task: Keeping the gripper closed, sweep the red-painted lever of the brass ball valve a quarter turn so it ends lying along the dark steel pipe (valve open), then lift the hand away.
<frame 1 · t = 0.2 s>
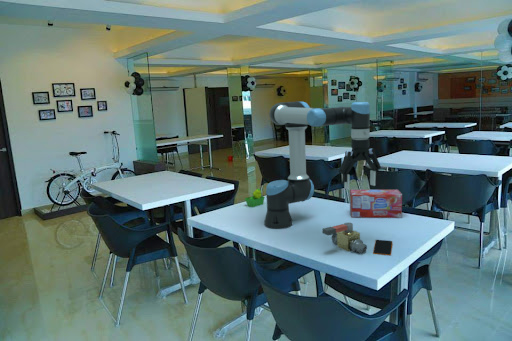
hand: (359, 187, 173), 27 cm above the table, fingers open, 13 cm apart
smartphone: (383, 248, 176), on the table
box: (374, 215, 223), on the table
fruit basket: (255, 205, 253), on the table
lever: (338, 230, 173), point 9 cm above the table, hinge at 0.0°
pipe: (348, 247, 178), on the table
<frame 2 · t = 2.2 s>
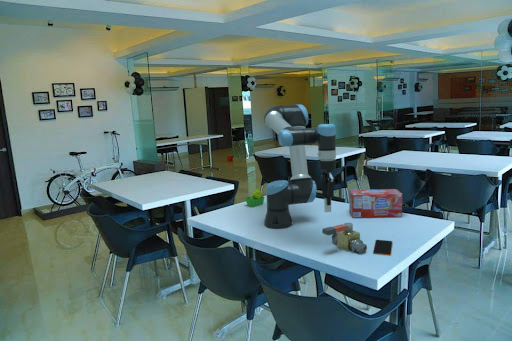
hand: (327, 211, 177), 16 cm above the table, fingers closed
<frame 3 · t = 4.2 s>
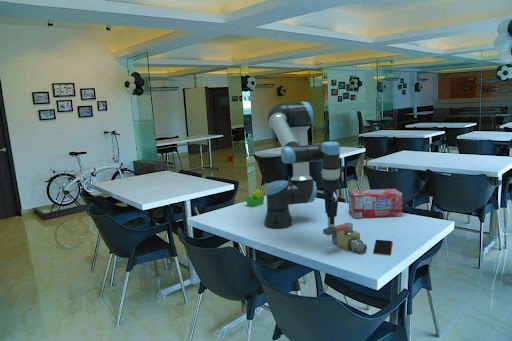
hand: (331, 230, 174), 9 cm above the table, fingers closed
lever: (338, 230, 173), point 9 cm above the table, hinge at 2.5°, touching gripper
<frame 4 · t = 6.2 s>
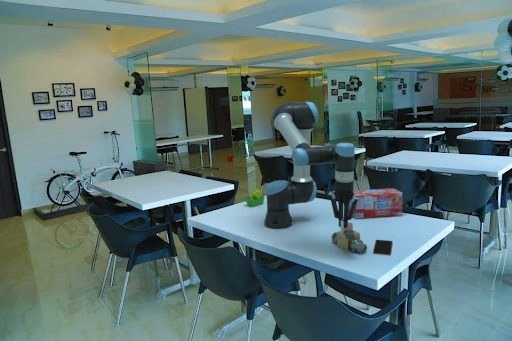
hand: (343, 234, 169), 9 cm above the table, fingers closed
lever: (349, 232, 170), point 9 cm above the table, hinge at 50.2°, touching gripper
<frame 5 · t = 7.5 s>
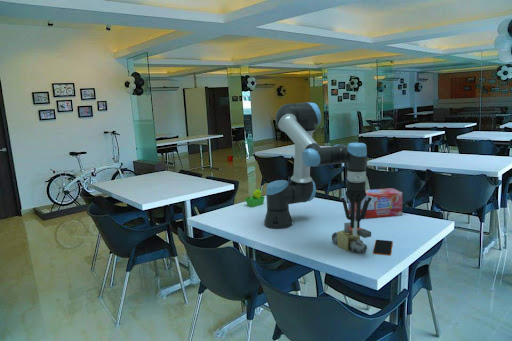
hand: (354, 234, 168), 9 cm above the table, fingers closed
lever: (356, 231, 171), point 9 cm above the table, hinge at 83.7°, touching gripper
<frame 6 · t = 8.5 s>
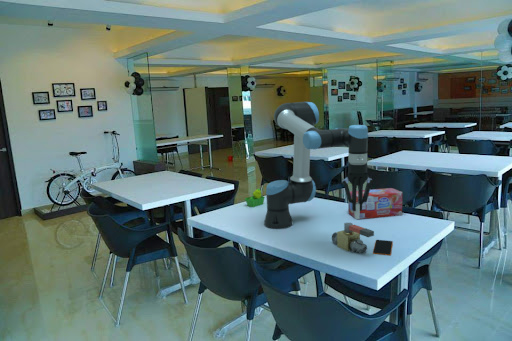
hand: (356, 218, 167), 16 cm above the table, fingers closed
lever: (357, 231, 171), point 9 cm above the table, hinge at 91.0°
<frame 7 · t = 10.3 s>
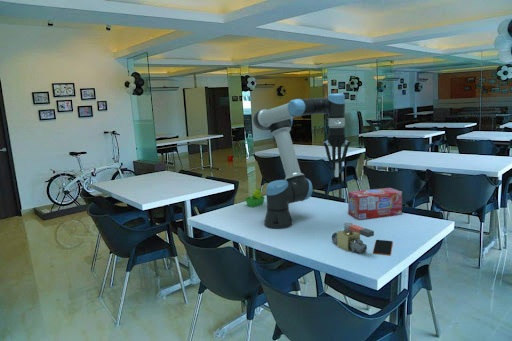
hand: (336, 176, 189), 29 cm above the table, fingers closed
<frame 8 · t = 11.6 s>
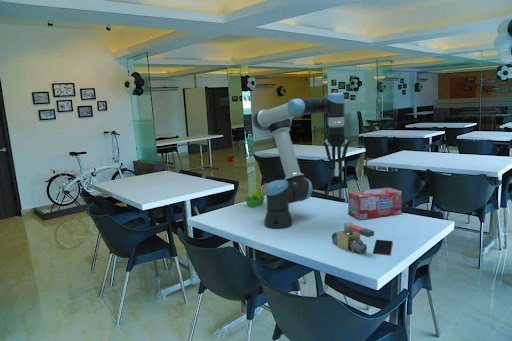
hand: (336, 175, 189), 29 cm above the table, fingers closed
at the end: lever at +91° (first picture: +0°) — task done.
